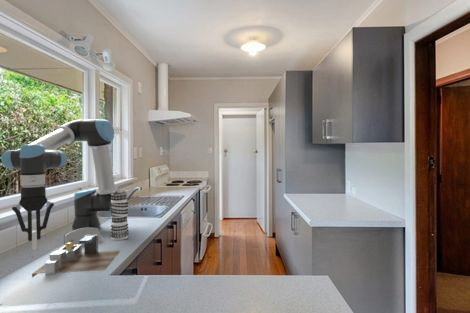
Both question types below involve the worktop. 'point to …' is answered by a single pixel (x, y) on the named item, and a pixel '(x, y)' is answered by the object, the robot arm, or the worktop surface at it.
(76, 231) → the grey curved arch block
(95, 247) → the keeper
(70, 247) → the brass rounded cylinder
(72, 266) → the board
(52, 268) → the link
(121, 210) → the decorative candle
